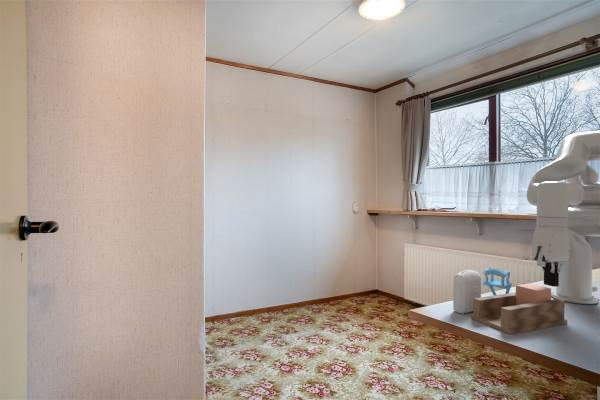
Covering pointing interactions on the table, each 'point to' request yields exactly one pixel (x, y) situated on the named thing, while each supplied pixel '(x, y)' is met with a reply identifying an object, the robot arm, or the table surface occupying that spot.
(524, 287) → the block
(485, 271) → the chair
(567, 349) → the table surface
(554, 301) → the chute
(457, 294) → the photo printer
